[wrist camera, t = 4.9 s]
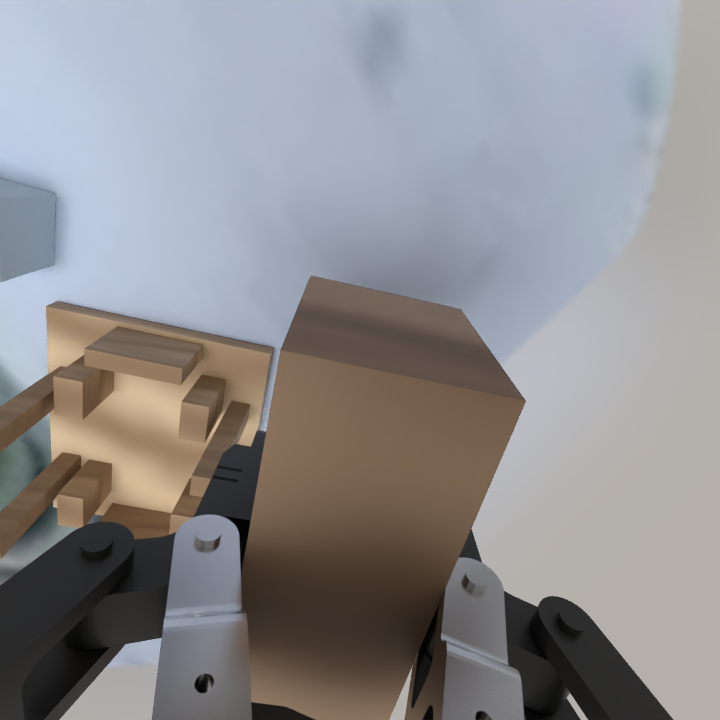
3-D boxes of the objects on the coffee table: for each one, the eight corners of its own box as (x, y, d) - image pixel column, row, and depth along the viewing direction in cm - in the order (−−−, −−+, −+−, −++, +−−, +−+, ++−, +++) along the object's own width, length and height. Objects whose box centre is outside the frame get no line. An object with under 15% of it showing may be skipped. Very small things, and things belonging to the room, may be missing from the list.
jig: (56, 301, 27) (-66, 357, 19) (273, 347, 28) (241, 417, 20) (61, 497, 33) (-31, 601, 25) (241, 528, 34) (207, 637, 26)
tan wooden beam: (310, 275, 12) (280, 350, 7) (460, 309, 12) (526, 400, 7) (252, 580, 16) (210, 750, 11) (364, 597, 16) (367, 769, 12)
